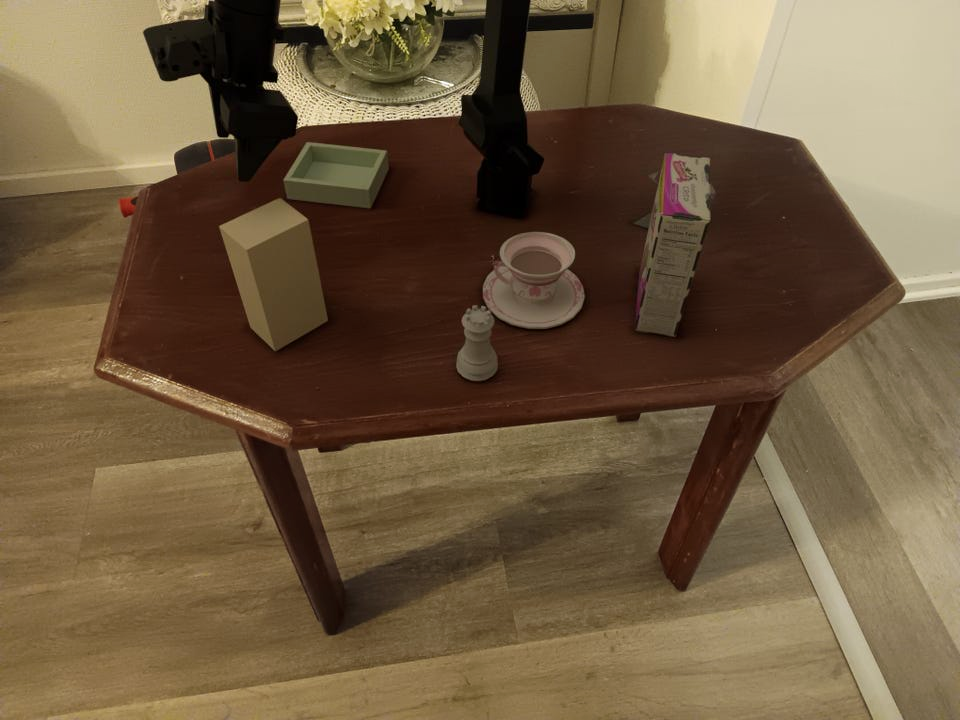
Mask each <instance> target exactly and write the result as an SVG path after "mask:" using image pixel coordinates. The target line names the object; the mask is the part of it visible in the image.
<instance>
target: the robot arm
mask: <svg viewBox="0 0 960 720" xmlns="http://www.w3.org/2000/svg"><path fill="white" fill-rule="evenodd" d="M281 1H282V0H208V3H207V4H204V12H203V17H201V18H198V19H197V18H196V19H183V20H178V21H173V22H169V23H163V24H158V25H153V26H150V27H147V28H145V29H144V30H143V31H142V34H143V37H144V40H145V43H146V46H147V48H148V51H149V55H150V56H151V60H152V62H153V64H154V68H155V69H156V72H157V75H158V77H159V79H160V80H161V81H163V82H167V83H168V82H169V83H171V82H176V81H178V80H179V79H183V78H189V77H193V76H198V75H200V77H201V78H202V79H203V80H204V81H205V82H206V83H207V85H208V91H209V96H210V102H211V109H212V113H213V118H214V126H215V131H216V132H215V133H216V135H217V137H218V138H221V139H228V138H229V137H230V135H231V136H232V137H233V142H234V155H235V156H234V157H235V169H236V177H237V180H238V181H239V182H245V183H248V182H250V181H251V180H252V179H253V177H254V175H255V174H256V173H257V172H258V170H260V168H261V167H262V165H263V164H264V162H265V161H266V160H267V159H268V157H269V156H270V155H271V153H272V152H273V151H274V150H275V149H276V148H277V147H278V146H279V144H281V142H282V141H284V140H288V139H289V138H290V139H292V138H293V137H295V136H296V133H297V128H298V121H299V115H298V114H297V113H296V111H295V109H294V107H293V106H292V105H291V103H290V102H289V100H288V99H287V98H286V96H285V95H284V94H283V92H282V91H281V90H279V89H270V88H265V87H264V83H270V84H271V83H272V84H278V81H279V80H278V79H279V71H278V70H277V68H276V67H275V65H274V58H275V50H276V42H277V41H283V40H284V33H285V29H284V28H283V26H282V25H281V23H280V21H279V19H280V17H279V16H280V10H281V9H280V8H281V3H282V2H281ZM531 2H532V0H486V2H485V13H484V26H483V38H482V39H483V40H482V51H481V63H480V74H479V75H480V76H479V81H478V85H477V86H476V88H475V89H474V91H473V92H472V94H462V95H461V96H460V106H461V114H460V118H459V120H458V123H457V124H458V126H459V127H460V128H461V129H462V131H463V132H462V133H463V135H464V136H465V138H466V139H467V140H468V141H469V143H471V145H472V146H473V147H474V148H475V149H476V150H477V151H478V153H480V155H481V156H482V157H483V159H482V161H480V162H481V163H480V166H479V167H478V169H477V171H476V198H477V199H478V202H477V204H476V210H477V211H479V212H485V213H491V214H494V215H495V214H496V215H501V216H504V217H505V216H506V217H511V218H516V219H524V217H525V215H526V213H527V210H528V208H529V206H530V203H531V201H532V199H533V196H534V195H535V189H534V188H533V187H532V186H533V176H536V175H539V173H540V172H541V169H542V166H543V164H544V162H545V158H544V156H542V155H541V153H540V152H538V151H537V149H535V148H534V147H533V146H532V144H530V142H528V141H529V136H528V135H529V133H528V117H527V112H526V110H525V109H526V108H525V105H524V101H523V98H522V94H521V83H522V76H523V70H524V69H523V67H524V59H525V51H526V43H527V35H528V28H529V19H530V11H531Z"/></svg>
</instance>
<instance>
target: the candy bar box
mask: <svg viewBox="0 0 960 720" xmlns="http://www.w3.org/2000/svg"><path fill="white" fill-rule="evenodd" d="M710 182H711V159H710V157H704V156H698V157H697V156H694V155H689V154H688V155H687V154H681V155H680V154H679V153H676V152H675V153H673V152H672V153H671V152H670V153H669V152H667V153H664V156H663V160H662V164H661V170H660V175H659V179H658V182H657V183H658V184H657V188H656V193H655V198H654V202H653V206H652V211H651V213H652V216H651V220H650V225H649V228H647V229H648V230H647V234H646V240H645V244H644V249H643V253H642V258H641V262H640V267H639V273H638V283H637V297H636V307H635V308H636V309H635V321H634V323H635V324H634V331H635V332H639V333H644V334H652V335H659V336H660V335H661V336H665V337H671V338H676V337H677V335H678V334H677V333H678V330H679V327H680V324H681V320H682V318H683V313H684V311H685V307H686V304H687V300H688V297H689V293H690V290H691V287H692V283H693V279H694V276H695V273H696V269H697V266H698V263H699V260H700V257H701V253H702V249H703V245H704V243H705V238H706V235H707V232H708V228H709V227H710V226H709V225H710V222H711V205H710Z"/></svg>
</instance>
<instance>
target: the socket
mask: <svg viewBox="0 0 960 720" xmlns="http://www.w3.org/2000/svg"><path fill="white" fill-rule="evenodd" d="M389 169H390V168H389V155H388V150H385V149H375V148H368V147H367V148H365V147H359V146H358V147H355V146H347V145H340V144H331V143H329V144H327V143H320V142H311V141H307V142H306V143H305V144H304V146H303V147H302V149H301V150H300V152H299V154H298V156H297V157H296V159H295V161H294V162H293V163H292V165H291V166H290V169H289V170H288V172H287V173H286V175H285V177H284V178H283V185H284V189H285V194H286V199H287V200H292V201H301V202H311V203H317V204H318V203H319V204H329V205H336V206H337V205H338V206H345V207H354V208H360V209H361V208H362V209H370V210H371V209H372V207H373V205H374V202H375V200H376V198H377V196H378V194H379V191H380V189H381V187H382V186H383V183H384V181H385V178H386V176H387V174H388V172H389Z"/></svg>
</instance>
